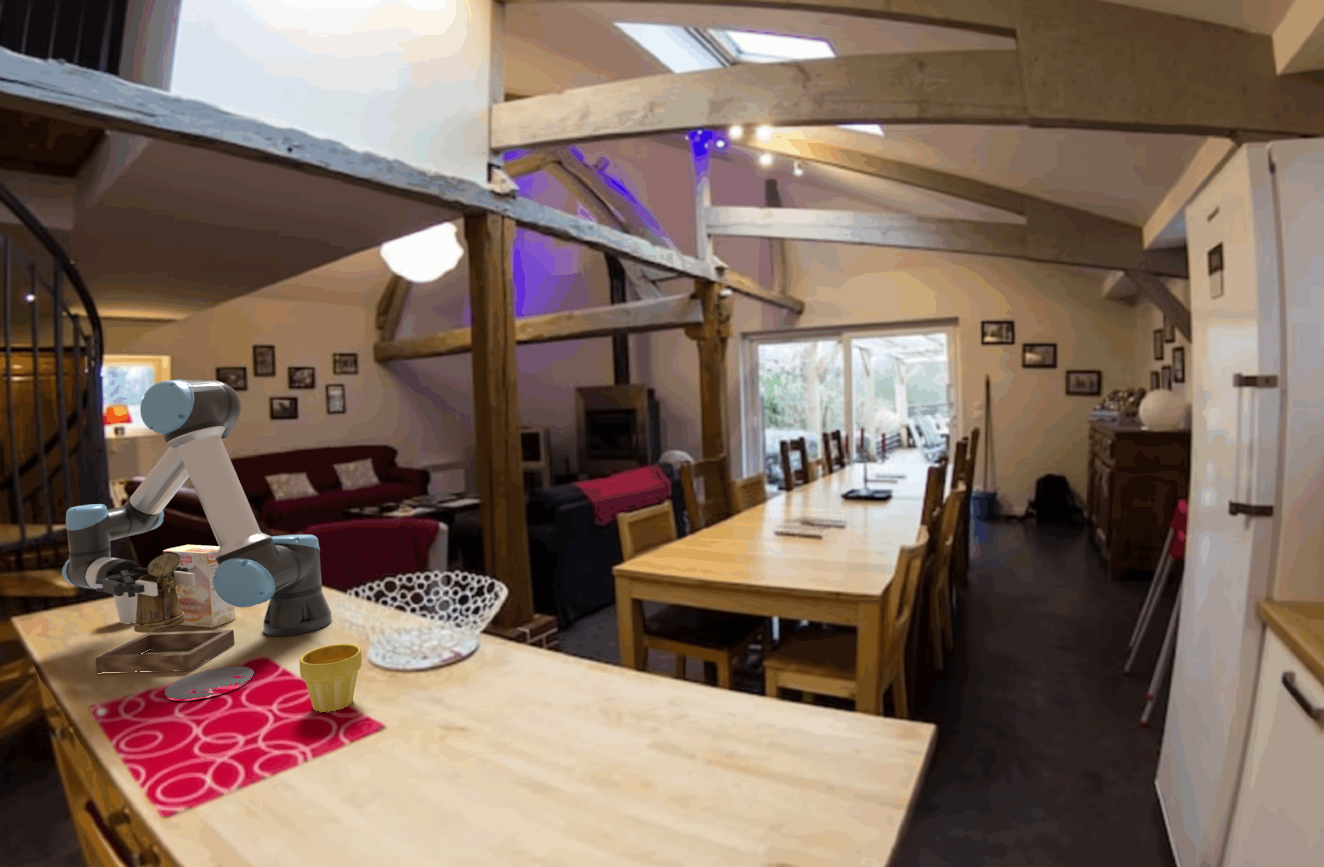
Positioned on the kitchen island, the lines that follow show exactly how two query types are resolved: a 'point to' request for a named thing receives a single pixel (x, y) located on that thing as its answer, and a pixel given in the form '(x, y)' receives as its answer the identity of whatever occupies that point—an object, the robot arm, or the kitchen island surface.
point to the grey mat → (207, 682)
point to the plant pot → (331, 675)
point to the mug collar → (133, 660)
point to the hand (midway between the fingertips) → (174, 584)
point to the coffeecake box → (201, 588)
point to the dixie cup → (126, 608)
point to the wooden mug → (159, 597)
